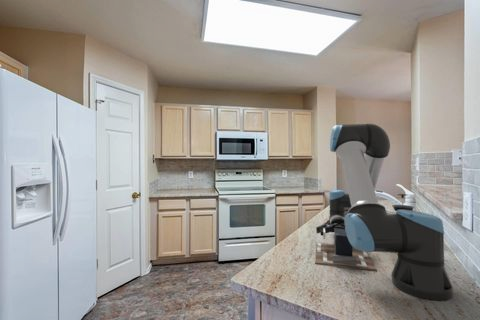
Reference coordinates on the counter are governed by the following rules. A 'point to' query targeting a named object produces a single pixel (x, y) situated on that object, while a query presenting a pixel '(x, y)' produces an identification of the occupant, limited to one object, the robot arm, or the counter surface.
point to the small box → (341, 243)
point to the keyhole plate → (343, 258)
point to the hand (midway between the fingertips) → (342, 237)
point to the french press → (402, 207)
